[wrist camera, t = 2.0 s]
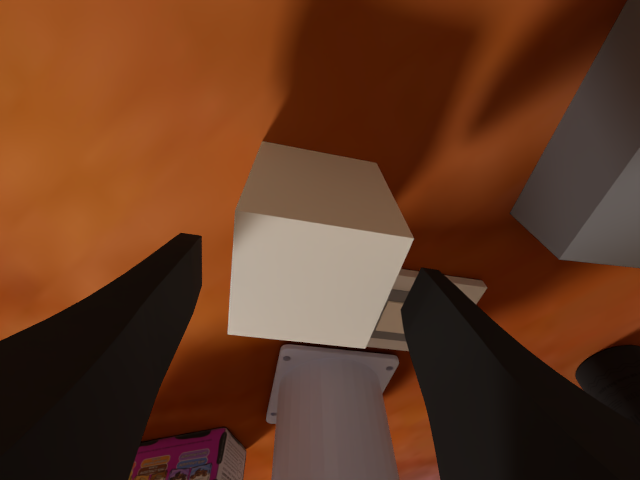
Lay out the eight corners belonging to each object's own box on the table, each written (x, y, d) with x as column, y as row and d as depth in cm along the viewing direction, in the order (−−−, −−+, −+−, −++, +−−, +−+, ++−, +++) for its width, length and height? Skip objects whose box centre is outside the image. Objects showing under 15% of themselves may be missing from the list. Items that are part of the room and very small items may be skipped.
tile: (439, 346, 21) (443, 357, 21) (307, 332, 20) (307, 343, 19) (482, 280, 18) (488, 290, 17) (327, 258, 17) (328, 267, 16)
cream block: (348, 252, 17) (365, 348, 12) (252, 238, 16) (227, 334, 11) (376, 162, 14) (413, 238, 9) (262, 140, 13) (235, 210, 8)
